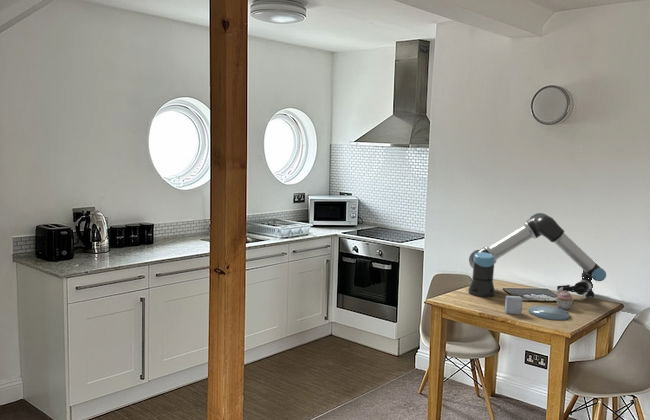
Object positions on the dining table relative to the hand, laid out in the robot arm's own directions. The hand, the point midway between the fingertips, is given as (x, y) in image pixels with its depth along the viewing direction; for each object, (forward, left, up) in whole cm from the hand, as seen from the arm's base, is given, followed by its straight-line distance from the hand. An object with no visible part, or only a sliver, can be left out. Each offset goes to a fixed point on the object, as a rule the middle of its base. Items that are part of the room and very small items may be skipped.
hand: (570, 294), depth 336 cm
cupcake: (-6, -8, -6) cm, 11 cm away
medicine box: (-37, -24, -6) cm, 44 cm away
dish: (-18, -22, -6) cm, 29 cm away
